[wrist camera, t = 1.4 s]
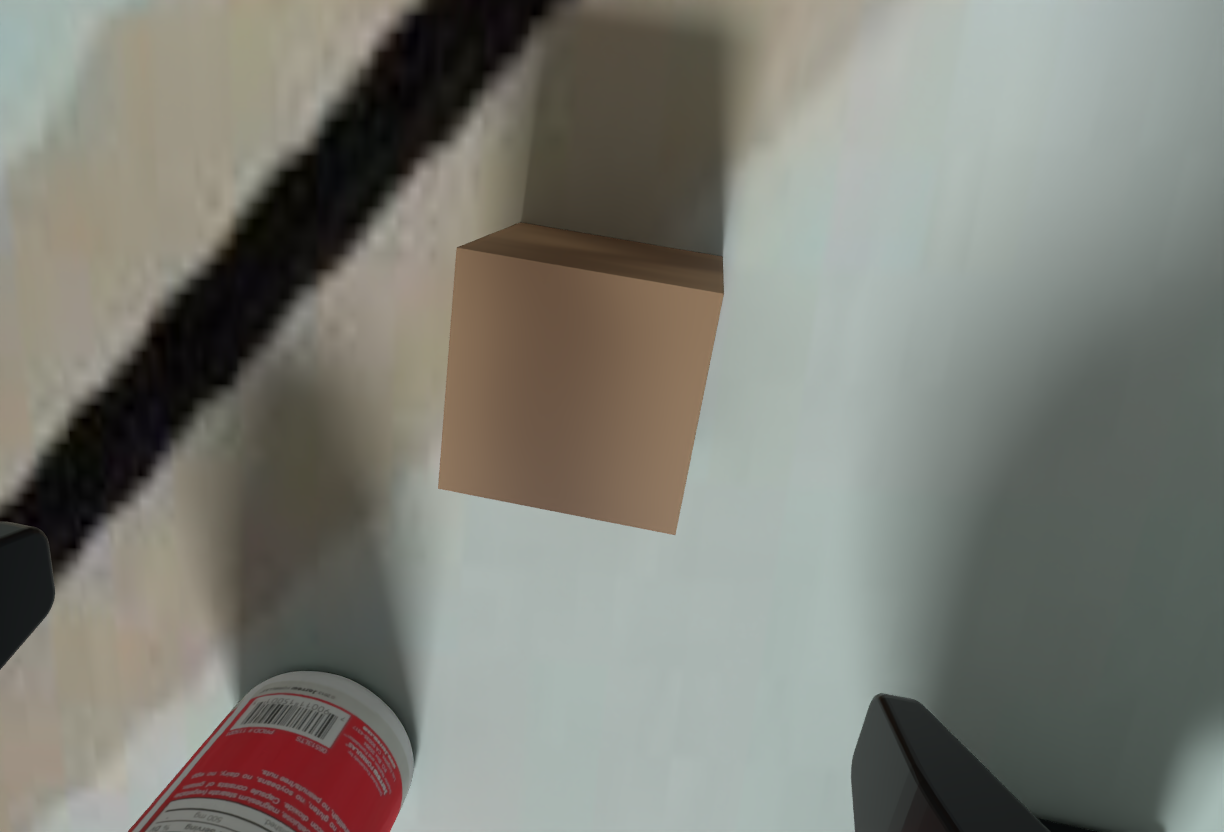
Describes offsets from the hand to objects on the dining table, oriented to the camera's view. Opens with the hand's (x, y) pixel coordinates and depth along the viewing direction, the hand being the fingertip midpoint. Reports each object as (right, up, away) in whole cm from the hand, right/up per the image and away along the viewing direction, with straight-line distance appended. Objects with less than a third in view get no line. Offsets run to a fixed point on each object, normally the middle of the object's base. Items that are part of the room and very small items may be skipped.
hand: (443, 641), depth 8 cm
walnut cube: (+2, +4, +12) cm, 12 cm away
